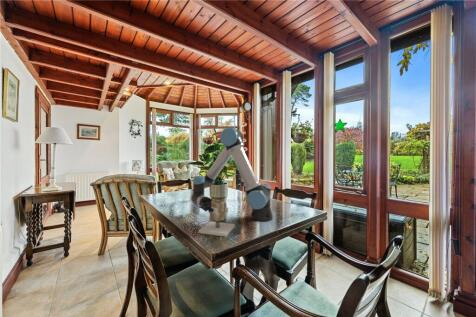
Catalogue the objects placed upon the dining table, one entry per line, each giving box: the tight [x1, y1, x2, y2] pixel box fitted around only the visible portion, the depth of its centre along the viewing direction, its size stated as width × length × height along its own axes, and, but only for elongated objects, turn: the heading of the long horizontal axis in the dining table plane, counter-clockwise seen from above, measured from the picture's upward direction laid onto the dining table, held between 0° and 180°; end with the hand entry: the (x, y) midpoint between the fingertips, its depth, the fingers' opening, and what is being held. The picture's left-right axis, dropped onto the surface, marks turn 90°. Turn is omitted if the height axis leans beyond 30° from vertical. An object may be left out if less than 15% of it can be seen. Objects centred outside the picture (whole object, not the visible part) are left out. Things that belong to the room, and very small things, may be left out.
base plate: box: [198, 220, 236, 238], centre depth 123 cm, size 16×16×5 cm
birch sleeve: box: [210, 199, 226, 222], centre depth 122 cm, size 6×6×10 cm
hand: (222, 210), depth 118 cm, fingers closed on birch sleeve, 6 cm apart
